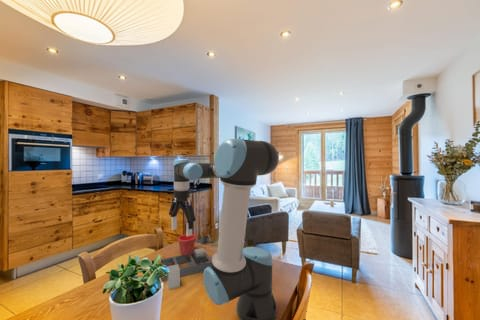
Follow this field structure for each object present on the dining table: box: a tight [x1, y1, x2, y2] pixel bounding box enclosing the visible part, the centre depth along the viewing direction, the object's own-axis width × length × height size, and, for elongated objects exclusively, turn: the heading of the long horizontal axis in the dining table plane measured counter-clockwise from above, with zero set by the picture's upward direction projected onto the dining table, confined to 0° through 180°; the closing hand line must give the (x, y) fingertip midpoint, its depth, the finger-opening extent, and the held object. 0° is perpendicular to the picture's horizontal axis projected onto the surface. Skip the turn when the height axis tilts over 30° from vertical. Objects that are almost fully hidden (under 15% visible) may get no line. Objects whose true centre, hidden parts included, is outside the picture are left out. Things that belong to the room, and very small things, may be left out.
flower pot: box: [177, 233, 197, 255], centre depth 131 cm, size 11×11×10 cm
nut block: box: [166, 264, 181, 291], centre depth 96 cm, size 5×5×8 cm
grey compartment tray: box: [160, 252, 212, 282], centre depth 111 cm, size 15×27×4 cm, turn 116°
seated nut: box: [193, 247, 207, 264], centre depth 115 cm, size 5×5×8 cm
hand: (181, 232), depth 104 cm, fingers open, 13 cm apart
